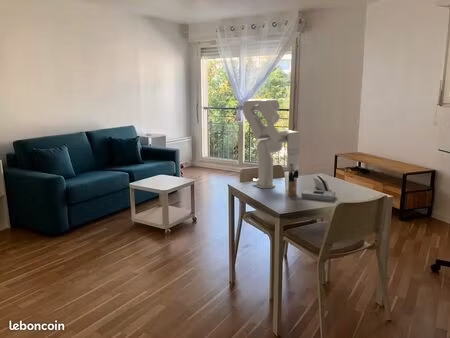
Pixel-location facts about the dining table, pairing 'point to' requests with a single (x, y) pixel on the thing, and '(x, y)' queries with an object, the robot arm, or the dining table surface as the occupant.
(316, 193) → the flat grey box
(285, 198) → the dining table surface
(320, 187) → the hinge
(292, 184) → the peg
